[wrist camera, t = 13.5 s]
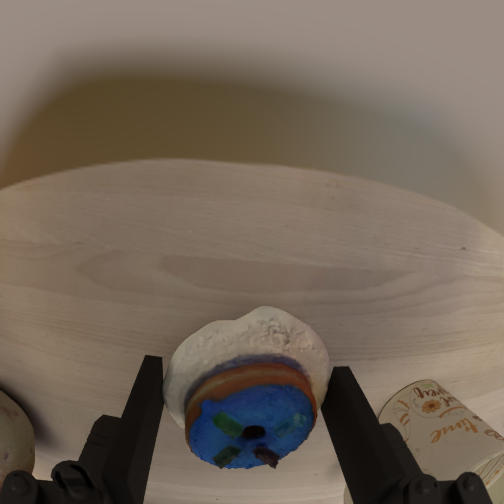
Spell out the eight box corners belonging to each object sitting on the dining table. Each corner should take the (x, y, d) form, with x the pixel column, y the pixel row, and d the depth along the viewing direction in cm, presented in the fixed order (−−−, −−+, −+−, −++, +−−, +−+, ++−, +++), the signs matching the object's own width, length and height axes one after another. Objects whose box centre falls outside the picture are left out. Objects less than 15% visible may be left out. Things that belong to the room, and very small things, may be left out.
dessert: (246, 466, 14) (201, 517, 8) (177, 377, 16) (108, 390, 11) (365, 383, 14) (378, 414, 8) (283, 288, 16) (250, 265, 11)
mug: (461, 390, 21) (520, 458, 11) (358, 475, 22) (388, 553, 13) (427, 349, 19) (507, 436, 9) (303, 453, 21) (329, 555, 11)
